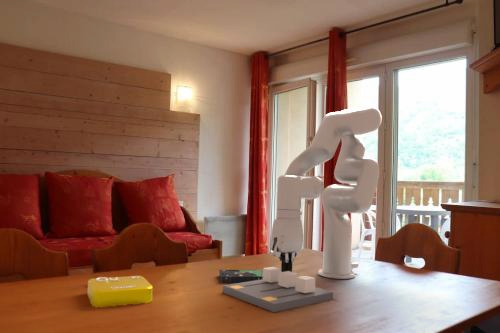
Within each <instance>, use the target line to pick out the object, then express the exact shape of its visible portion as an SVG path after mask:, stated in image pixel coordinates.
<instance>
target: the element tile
mask: <svg viewBox="0 0 500 333" xmlns="http://www.w3.org/2000/svg"><path fill="white" fill-rule="evenodd" d="M153 290H154V288H153V285H152V284H151V283H150V282H149V281H148V279H146V278H145V277H144V276H142V275H130V276H129V275H128V276H115V277H107V276H106V277H105V276H104V277H103V276H99V277H97V278H90V279H88V281H87V297H88V300H89V299H90V300H89V302H90V305H91V304H92V305H91V307H93V306H95V307H94V308H98V307H100V308H106V307H105V306H112V307H117V306H116V305H123V306H128V305H127V304H133V305H141V304H140V303H144V304H150V303H152V302H153ZM151 301H152V302H151ZM149 302H150V303H149ZM103 306H104V307H103Z"/></svg>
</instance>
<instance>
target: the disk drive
mask: <svg viewBox="0 0 500 333" xmlns="http://www.w3.org/2000/svg"><path fill="white" fill-rule="evenodd" d="M218 271H219V275H218V277H219V281H220V284H235V283H242V282H248V281H255V280H261V279H263V269H219V270H218Z"/></svg>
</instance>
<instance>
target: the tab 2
mask: <svg viewBox="0 0 500 333" xmlns="http://www.w3.org/2000/svg"><path fill="white" fill-rule="evenodd" d="M296 277H298V273H297V272H294V271H292V272H291V271H285V272H279V278H278V285H280V286H283V287H286V288H288V287H294V286H295V285H296Z"/></svg>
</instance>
